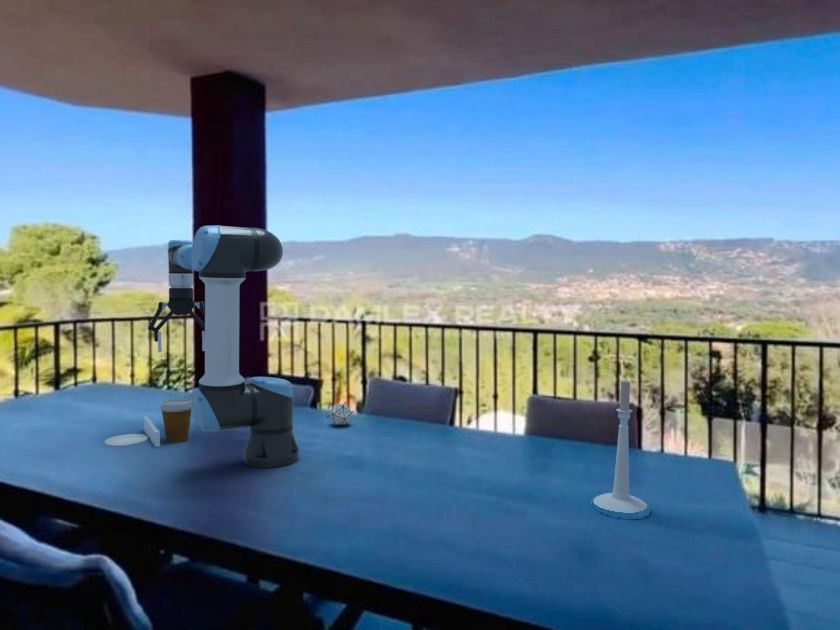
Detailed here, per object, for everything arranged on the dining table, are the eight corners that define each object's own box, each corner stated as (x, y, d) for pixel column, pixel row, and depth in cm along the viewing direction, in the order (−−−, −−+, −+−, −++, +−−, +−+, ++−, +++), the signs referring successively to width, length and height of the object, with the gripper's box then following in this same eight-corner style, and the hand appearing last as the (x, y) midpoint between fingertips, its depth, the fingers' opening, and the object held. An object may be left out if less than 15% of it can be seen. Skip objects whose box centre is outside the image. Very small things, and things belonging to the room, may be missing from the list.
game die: (344, 437, 204) (351, 418, 198) (321, 427, 204) (327, 408, 198) (352, 419, 211) (359, 400, 206) (330, 410, 211) (336, 391, 205)
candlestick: (604, 493, 145) (608, 372, 142) (658, 507, 136) (663, 379, 134) (582, 509, 135) (586, 379, 133) (638, 525, 127) (644, 386, 124)
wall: (160, 446, 178) (159, 431, 177) (155, 447, 177) (155, 432, 177) (147, 429, 196) (147, 416, 195) (143, 430, 195) (143, 416, 195)
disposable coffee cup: (171, 446, 178) (170, 406, 177) (154, 440, 184) (154, 402, 183) (199, 439, 186) (199, 401, 185) (182, 433, 192) (182, 397, 191)
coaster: (150, 442, 182) (150, 441, 182) (106, 448, 175) (106, 447, 175) (144, 433, 192) (144, 432, 192) (102, 438, 185) (102, 437, 185)
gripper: (221, 287, 202) (221, 348, 203) (141, 286, 195) (142, 350, 196) (220, 287, 195) (221, 351, 196) (137, 287, 187) (139, 353, 189)
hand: (182, 351), depth 196 cm, fingers open, 13 cm apart
